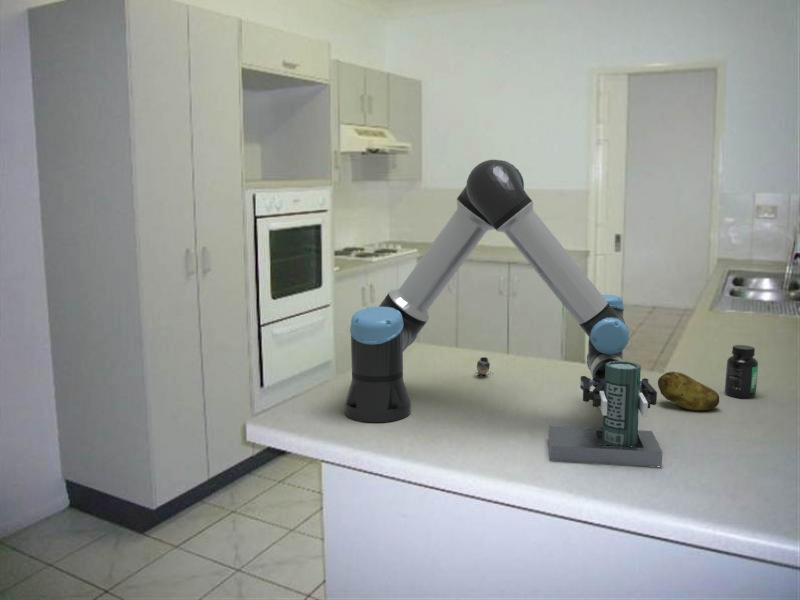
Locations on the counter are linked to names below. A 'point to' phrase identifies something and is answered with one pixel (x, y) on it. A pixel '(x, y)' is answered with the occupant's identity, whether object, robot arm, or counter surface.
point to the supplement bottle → (741, 373)
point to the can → (621, 403)
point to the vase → (483, 367)
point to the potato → (687, 392)
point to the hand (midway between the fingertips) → (625, 409)
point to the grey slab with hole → (601, 447)
